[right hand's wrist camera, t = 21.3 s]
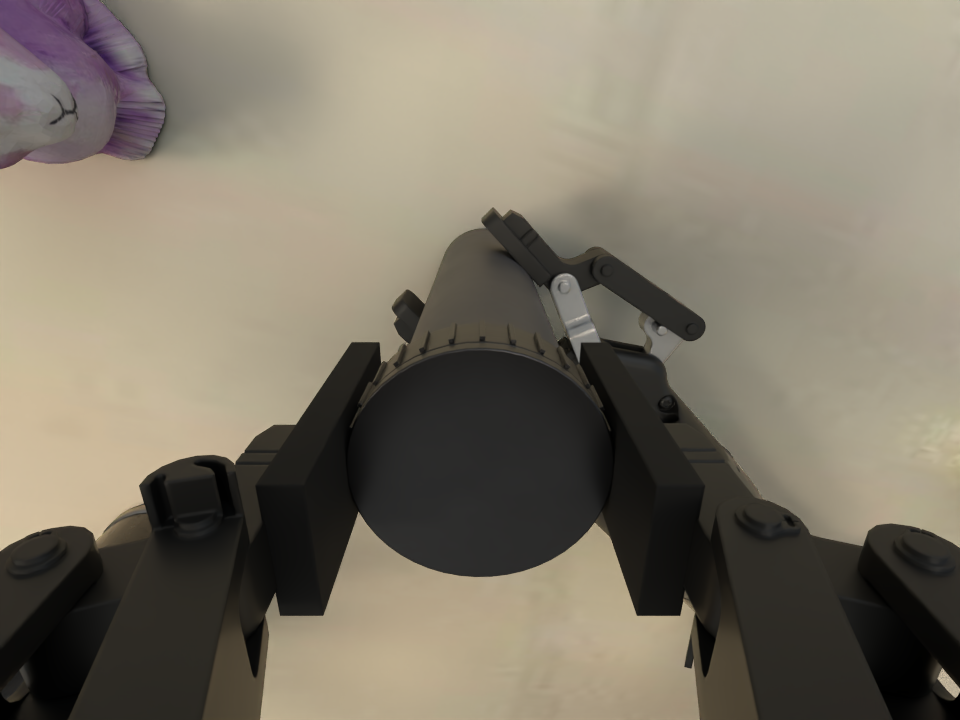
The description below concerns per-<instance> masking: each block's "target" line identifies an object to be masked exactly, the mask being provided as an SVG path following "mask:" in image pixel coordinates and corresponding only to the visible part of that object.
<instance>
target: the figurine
mask: <svg viewBox="0 0 960 720" xmlns="http://www.w3.org/2000/svg"><path fill="white" fill-rule="evenodd" d="M146 68H147V61H146V58H145V55H144V53H143V51H142V48H141V46H140V45H139V43H138V42H137V41H136V40H135V38H134V37H133V36H132V35H131V33H130V32H129V31H128V30H127V29H126V28H125V27H124V26H123V25H122V23H121V22H120V21H119V20H118V19H117V18H116V17H115V16H114V15H113V14H112V13H111V11H110V10H109V9H108V8H107V7H106V6H105V5H104V4H103V3H101V2H100V1H99V0H0V169H3V168H6V167H9V166H11V165H14V164H16V163H17V162H18V161H20V160H21V159H26V160H30V161H36V162H42V163H48V164H61V163H69V162H74V161H79V160H82V159H85V158H87V157H90V156H92V155H95V154H98V153H104V154H108V155H111V156H114V157H118V158H121V159H127V160H138V159H143V158H145V156H146V155H147V154H150V153H149V152H150V151H151V150H152V147H153V146H154V142H155V141H156V137H158V133H160V129H161V128H162V124H164V117H165V116H166V115H165V108H166V107H165V103H164V101H163V98H162V96H161V94H160V93H159V92H158V91H157V89H156V87H155V85H154V84H153V83H152V82H151V81H150V79H149V77H148V73H147V69H146Z"/></svg>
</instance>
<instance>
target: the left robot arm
mask: <svg viewBox="0 0 960 720" xmlns="http://www.w3.org/2000/svg"><path fill="white" fill-rule="evenodd" d="M482 223H483V224H484V226H485V227H486V228H487V229H488V230H489V232H490V233H491V234H492V235H493V236H494V237H495V238H496V239H497V240H498V241H499V243H500V244H501V245H502V246H503V247H504V248H505V249H506V250H507V251H508V253H509V254H510V255H511V256H512V257H513V258H514V259H515V260H516V261H517V263H518V264H519V265H520V266H521V267H522V268H523V269H524V270H525V271H526V272H527V273H528V275H529V276H530V277H531V278H532V279H533V280H534V281H535V282H536V284H537V285H538V286H539V287H541V286H542V285H543V284H544V285H545V286H546V287H547V288H548V290H549V292H550V294H551V297H552V299H553V302H554V304H555V307H556V310H557V312H558V315H559V318H560V320H561V323H562V326H563V328H564V331H565V333H566V336H567V338H568V339H567V338H566V337H565V336H564V337H563V338H562V339H561V340H560V341H558V345H559V346H561V347H562V348H563V349H564V352H565V354H566V356H567V357H568V358H569V359H570V360H571V361H572V362H573V363H574V364H575V365H578V364H579V361H580V348H581V342H609V344H610V345H611V347H612V348H613V350H614V351H615V353H616V354H617V356H618V357H619V359H620V360H621V362H622V363H623V364H624V366H625V367H626V369H627V370H628V372H629V373H630V375H631V376H632V378H633V379H634V381H635V382H636V384H637V385H638V387H639V388H640V390H641V391H642V393H643V394H644V396H645V397H646V399H647V400H648V401H649V403H650V404H651V406H652V407H653V409H654V410H655V412H656V413H657V415H658V416H659V418H660V419H661V421H662V422H663V423H687V424H688V425H690V426H691V427H693V428H695V429H696V430H698V431H699V432H701V433H703V434H704V435H705V436H706V437H707V438H708V439H709V441H710V442H711V443H712V444H713V446H714V447H715V448H716V452H719V453H720V454H721V456H722V457H723V458H724V459H725V463H728V464H729V466H730V467H731V468H732V469H733V471H734V472H735V473H736V475H737V476H738V477H739V478H740V480H741V481H742V482H743V483H744V485H745V486H746V487H747V488H748V490H749V491H750V492H751V493H752V495H753V496H754V497H755V498H758V499H762V500H763V498H762V497H761V495H760V493H759V492H758V490H757V488H756V487H755V485H754V484H753V482H752V481H751V480H750V479H749V477H748V476H747V475H746V473H745V472H744V471H743V470H742V469H741V468H740V466H739V465H738V464H737V463H736V462H735V461H734V459H733V457H732V456H731V454H730V453H729V452H728V451H727V450H726V449H725V448H724V447H723V446H721V445H720V444H719V443H718V441H717V440H716V439H715V438H714V437H713V436H712V435H711V433H710V432H709V431H708V430H707V429H706V428H705V427H704V425H703V424H702V423H701V422H700V421H699V420H698V419H697V417H696V416H695V415H694V414H693V413H692V412H691V411H690V409H689V408H688V407H687V406H686V405H685V404H684V403H683V401H682V400H681V399H680V398H679V397H678V396H677V395H676V393H675V392H674V391H673V390H672V389H671V388H670V386H669V384H668V380H667V373H666V368H665V366H664V362H665V361H666V360H667V359H668V358H669V356H670V355H671V354H672V353H673V352H674V350H675V349H676V348H677V347H678V346H679V344H680V343H681V342H682V341H683V340H686V341H694V340H697V339H698V338H700V337H701V336H702V335H703V333H704V331H705V322H704V320H703V319H702V318H701V317H700V316H698V315H697V314H695V313H694V312H693V311H691V310H690V309H689V308H687V307H686V306H685V305H683V304H682V303H681V302H679V301H678V300H676V299H675V298H673V297H672V296H670V295H669V294H668V293H666V292H665V291H663V290H662V289H660V288H659V287H657V286H656V285H655V284H653V283H652V282H650V281H649V280H647V279H646V278H644V277H643V276H642V275H640V274H639V273H637V272H636V271H634V270H633V269H632V268H630V267H629V266H627V265H626V264H624V263H623V262H621V261H620V260H619V259H617V258H616V257H614V256H613V255H611V254H610V253H608V252H607V251H606V250H604V249H603V248H600V247H592V248H590V249H588V250H587V251H586V252H585V253H584V254H582V255H579V256H577V257H574V258H571V259H563V258H561V257H559V256H557V255H556V254H555V253H554V252H553V251H552V249H551V248H550V247H549V246H548V245H547V244H546V243H545V241H544V240H543V239H542V238H541V237H540V236H539V235H538V233H537V232H536V231H535V230H534V229H533V228H532V227H531V225H530V224H529V223H528V222H527V221H526V220H525V219H524V217H523V216H522V215H521V214H519V213H517V212H514V211H512V210H509V211H508V212H507V213H506V214H505V215H504V216H503V217H502V216H501V215H500V214H499V213H498V212H497V211H496V210H495V209H494V208H492V209H491V210H490V211H489V212H488V213H487V214H486V215H485V216H484V217H482ZM599 284H602V285H603V286H605V287H606V288H608V289H609V290H611V291H612V292H614V293H615V294H617V295H618V296H620V297H621V298H623V299H624V300H625V301H627V302H628V303H630V304H631V305H633V306H634V307H636V308H637V309H639V310H640V311H642V313H641V315H640V317H639V321H638V322H639V326H640V328H641V329H642V330H643V331H644V332H645V334H646V337H647V340H646V343H645V345H644V347H643V346H638V345H633V344H627V343H622V342H617V341H612V340H606V339H601V338H599V336H598V333H597V331H596V328H595V325H594V323H593V321H592V319H591V317H590V314H589V311H588V309H587V306H586V303H585V300H584V298H583V295H582V292H581V291H584V290H586V289H589V288H591V287H594V286H596V285H599ZM424 307H425V304H424V303H423V302H422V301H421V300H420V299H419V298H418V297H417V296H416V295H415V294H414V293H413V292H411V291H410V290H406V291H405V292H404V293H403V294H402V295H401V296H400V297H398V298H397V299H396V301H395V303H394V304H393V306H392V310H393V312H394V313H395V314H396V316H397V319H396V321H395V322H394V325H395V327H396V330H397V332H398V334H399V335H400V336H401V337H402V338H403V339H404V340H405V341H406V342H408V343H409V344H410V343H411V340H412V338H413V335H414V333H415V330H416V327H417V325H418V322H419V320H420V317H421V314H422V312H423V309H424ZM595 523H596V524H597V525H598V526H599V527H600V528H601V529H602V530H604V531H605V532H606V533H607V534H608V535H609V536H610V534H609V531H608V528H607V525H606V522H605V520H604V517H603V514H602V511H601V513H600V515H599V516H598V518H597V520H596V521H595ZM151 532H152V528H151V525H150V521H149V518H148V515H147V511H146V508H145V505H141V506H138V507H134V508H132V509H129V510H127V511H126V512H124V513H122V514H121V515H120V516H119V517H117V518H116V519H115V520H114V521H113V522H112V523H111V524H110V525H109V526H108V527H107V528H106V530H105V531H104V533H103V534H102V536H101V537H100V538H99V539H97V540H96V544H97V547H98V549H99V548H104V547H108V546H113V545H118V544H123V543H128V542H133V541H137V540H141V539H145V538H149V536H150V534H151ZM683 601H684V602H685V603H686V604H687V605H688V606H689V607H690V608H691V609H692V610H693V611H694V612H695V610H694V608H693V606H692V604H691V601H690V599H689V597H688V595H687V593H686V591H685V593H684V599H683ZM23 681H24V679H23V677H22V675H21V672H20V670H19V671H18V672H17V673H16V675H15V676H14V677H13V678H12V679H11V681H10V682H9V683H8V684H7V685H6V686H5V688H4V689H3V690H2V691H1V694H2V696H3V698H4V699H7V698H8V697H10V696H11V695H12V694H13V693H14V692H15V691H16V690H17V689H18V687H19V686H20V685H21V684H22V683H23Z"/></svg>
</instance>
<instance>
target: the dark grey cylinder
mask: <svg viewBox="0 0 960 720" xmlns="http://www.w3.org/2000/svg"><path fill="white" fill-rule="evenodd" d="M480 320H485V323H489V324H499V325H505V326H508V323H511V324H513V325H514V328H518V329H521V330H524V331H526V332H529V333H532V334H535V332H537V333H540V336H541V338H542V339H544V340H546V341H548V342H549V343H551V344H552V345H553V346H555V347H556V348H558V347H559V345H558V342H557V340H556V337H555V335H554V332H553V330H552V328H551V325H550V323H549V320H548V318H547V315H546V313H545V310H544V308H543V305H542V303H541V300H540V298H539V295H538V293H537V290H536V288H535V285H534V283H533V280H532V278H531V277H530V276H529V275H528V273H527V272H526V271H525V270H524V269H523V268H522V267H521V266H520V265H519V264H518V263H517V261H516V260H515V259H514V258H513V257H512V256H511V255H510V254H509V253H508V251H507V250H506V249H505V248H504V247H503V246H502V245H501V244H500V243H499V241H498V240H497V239H496V238H495V237H494V236H493V235H492V234H491V233H490V232H489V230H488V229H475V230H471V231H468V232H466V233H464V234H462V235H460V236H459V237H458V238H456V239H455V240H454V241H453V242H452V243H451V244H450V246H449V247H448V249H447V250H446V252H445V255H444V257H443V260H442V262H441V265H440V268H439V270H438V273H437V275H436V278H435V281H434V283H433V286H432V288H431V291H430V294H429V296H428V299H427V301H426V304H425V307H424V309H423V312H422V314H421V317H420V320H419V322H418V325H417V327H416V330H415V333H414V335H413V338H412V340H411V342H413V341H415V340H416V339H418V338H420V337H422V336H423V334H424V332H425V331H427V330H429V332H430V333H431V332H434V331H436V330H440V329H443V328H447V327H450V326H451V323H454V322H456V325H462V324H471V323H480Z"/></svg>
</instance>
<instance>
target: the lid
mask: <svg viewBox="0 0 960 720" xmlns="http://www.w3.org/2000/svg"><path fill="white" fill-rule="evenodd" d="M357 407H359V408H358V410H357V412H356V414H355V416H354V419H353V421H352V423H351V425H350V427H349V431H350V435H349V439H348V445H347V451H346V468H347V477H348V485H349V488H350V491H351V495H352V498H353V500H354V502H355V504H356V507H357V509H358V511H359V513H360V514H361V516H362V517H363V519H364V520H365V522H366V523H367V525H368V526H369V527H370V528H371V529H372V531H373V532H374V533H375V534H376V535H377V536H378V537H379V538H380V539H381V540H382V541H383V542H384V543H386V544H387V545H388V546H389V547H390V548H392V549H393V550H395V551H396V552H397V553H399V554H400V555H402V556H404V557H406V558H407V559H409V560H411V561H413V562H415V563H417V564H420V565H422V566H425V567H427V568H430V569H433V570H436V571H440V572H443V573H448V574H454V575H459V576H471V577H492V576H500V575H508V574H512V573H516V572H521V571H524V570H527V569H530V568H533V567H536V566H539V565H541V564H543V563H545V562H547V561H549V560H551V559H553V558H555V557H556V556H558V555H560V554H561V553H563V552H565V551H566V550H567V549H569V548H570V547H571V546H572V545H574V544H575V543H576V542H577V541H578V540H579V539H580V538H581V537H582V536H583V535H584V534H585V533H586V532H587V531H588V530H589V529H590V528H591V526H592V525H593V524H594V522H595V521H596V520H597V518H598V516H599V515H600V513H601V511H602V509H603V508H604V506H605V503H606V501H607V498H608V496H609V493H610V490H611V485H612V480H613V471H614V447H613V443H612V438H611V433H612V430H611V428H610V426H609V424H608V422H607V420H606V418H605V415H604V413H603V411H604V410H605V409H604V407H603V405H602V403H601V400H600V398H599V396H598V394H597V392H596V390H595V388H594V386H593V385H591V386H590V384H589V382H588V379H587V377H586V375H585V373H584V371H583V369H582V367H581V366H580V364H578V365H575V364H574V363H573V362H572V361H571V360H570V359H569V358H568V357H567V356H566V354H565V352H564V349H563V348H562V347H561V346H559V347H558V348H556V347H555V346H553V345H552V344H551V343H549V342H548V341H546V340H544V339H542V338H541V336H540V333H537V332H535V334H532V333H529V332H526V331H524V330H521V329H518V328H514V325H513V324H511V323H508V326H505V325H499V324H489V323H485V320H480V323H471V324H462V325H456V322H454V323H451V326H450V327H447V328H443V329H440V330H436V331H434V332H431V333H430V332H429V330H427V331H425V332H424V334H423V336H422V337H420V338H418V339H416V340H415V341H413V342H411V343H410V344H408V345H405V344H402V345H401V346H400V348H399V351H398V353H396V354H395V355H394V356H393V357H392V358H391V359H390V360H389V361H388V362H387V363H386V362H385V361H383V362H382V364H381V365H380V368H379V370H378V372H377V374H376V376H375V378H374V380H373V383H371V382H369V383H368V385H367V387H366V389H365V391H364V393H363V395H362V397H361V399H360V401H359V403H358V405H357Z"/></svg>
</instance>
